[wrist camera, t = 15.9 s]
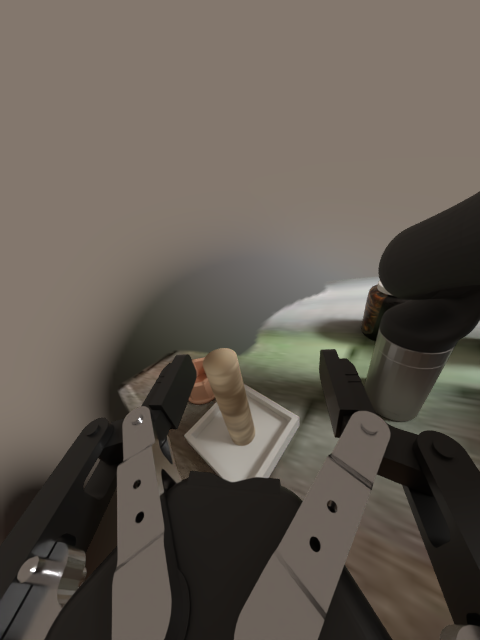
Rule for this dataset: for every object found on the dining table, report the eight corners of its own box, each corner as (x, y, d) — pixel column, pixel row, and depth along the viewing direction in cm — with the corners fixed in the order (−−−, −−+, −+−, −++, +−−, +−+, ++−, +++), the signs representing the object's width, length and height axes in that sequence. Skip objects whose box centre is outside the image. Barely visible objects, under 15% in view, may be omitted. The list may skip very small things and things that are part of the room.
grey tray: (239, 387, 49) (237, 379, 48) (299, 425, 39) (299, 416, 38) (188, 443, 40) (183, 435, 39) (249, 510, 30) (246, 503, 29)
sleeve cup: (206, 367, 57) (200, 351, 54) (231, 382, 51) (226, 366, 48) (178, 391, 52) (169, 376, 48) (201, 412, 46) (194, 396, 42)
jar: (372, 347, 53) (385, 297, 45) (355, 322, 62) (362, 277, 54) (422, 343, 51) (445, 291, 43) (396, 318, 61) (411, 271, 52)
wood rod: (241, 415, 42) (220, 344, 31) (260, 429, 39) (243, 355, 28) (225, 435, 39) (195, 364, 29) (244, 451, 36) (219, 379, 25)
